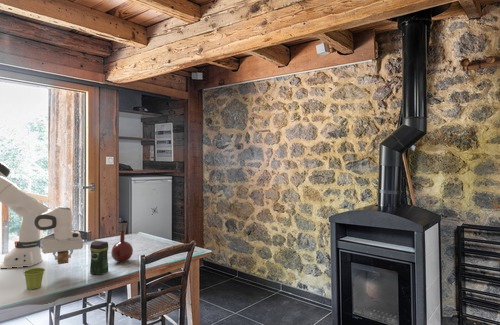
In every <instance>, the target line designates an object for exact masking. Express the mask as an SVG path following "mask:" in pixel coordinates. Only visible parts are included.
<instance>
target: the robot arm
mask: <svg viewBox="0 0 500 325" xmlns="http://www.w3.org/2000/svg"><path fill="white" fill-rule="evenodd" d="M10 174H11V171H10V168H9V166H8V165H7V164H5V163H3V162H2V161H0V203H2V204H4V205H6V206H7V207H8V208H9V209H10V210H12V211H13V212H14V213H15V214H16V215H17V216H19V217H21V218H22V220H21V225H20V227H19V228H18V240H15V241H14V248H12V249H11V250H10V251H8V252H7V253H6V254H5V255H4V258H3V261H2V262H0V269H1V268H7V269H13V268H12V267H17V268H24V267H23V266H28V267H32V266H34V265H37V264H40V263H42V262H43V261H44V259H43V257H42V253H43V254H44V255H45V254H51V253H52V255H53V257H54V260H55V261H57V260H58V255H56V254H57V252H61V251H68V252H69V253H68V259H71V258H72V254H73V252H74V251H75V250H81V249H83V247H84V243H83V239H82V237H81V235H82V234H81V233H80V231H78V230H73V226H72V222H73V215H72V214H73V213H72V208H70V207H69V206H64V205H59V206H56V207H54V208H49V207H47V206H46V205H44V204H43V203H41V202H40V201H38V200H36V198H34V197H32V196H31V195H30V194H28V193H26V192H25V190H23V189H21V187H19V186H17V185H16V184H15V183H13V181H10V180H9V179H7V177H9V175H10ZM47 230H53V232H54V233H53V235H50V236H49V235H48V236H44V237H42V239H41V231H47ZM41 250H42V251H41ZM41 252H42V253H41Z"/></svg>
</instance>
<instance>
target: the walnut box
mask: <svg viewBox="0 0 500 325" xmlns="http://www.w3.org/2000/svg"><path fill="white" fill-rule="evenodd" d="M56 254H57V256H58V260H56V261H57V264H58V265H64V264H68V263H69V258H68V254H70V251H61V252H56Z"/></svg>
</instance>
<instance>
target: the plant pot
mask: <svg viewBox="0 0 500 325" xmlns="http://www.w3.org/2000/svg"><path fill="white" fill-rule="evenodd" d="M45 271H46V268H43V267H34V268H29V269H26V270H24V271H23V275H24V277H25V278H24V279H25V282H26V283H25V284H26V289H28V290H35V289H39V288H42V282H43V278H44V274H45Z"/></svg>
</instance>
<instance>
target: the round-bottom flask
mask: <svg viewBox="0 0 500 325" xmlns="http://www.w3.org/2000/svg"><path fill="white" fill-rule="evenodd" d="M125 232H126V230H120V231H119V234H120V235H119V236H120V237H119V241H118V242H116V243H115V244H114V245H113V246H112V248H111V250H110V251H111V258H112V260H114V261H116V262H117V263H126V262H128V261H129V260H130V259H131V257H132V256H133V253H134V248H133V246H132V243H130V242H128V241H125V236H126V234H125Z"/></svg>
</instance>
